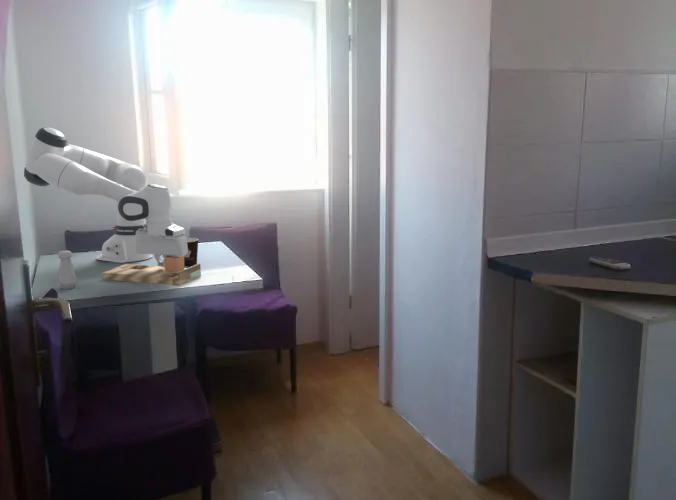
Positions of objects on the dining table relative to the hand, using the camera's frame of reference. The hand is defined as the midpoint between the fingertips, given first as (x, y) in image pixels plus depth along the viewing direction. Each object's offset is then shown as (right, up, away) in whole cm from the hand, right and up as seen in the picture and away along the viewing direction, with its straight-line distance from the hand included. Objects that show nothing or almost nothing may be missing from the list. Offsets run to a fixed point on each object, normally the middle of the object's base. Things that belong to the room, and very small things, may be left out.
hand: (162, 266), depth 232 cm
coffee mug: (+4, 0, +18) cm, 18 cm away
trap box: (-3, -4, -1) cm, 5 cm away
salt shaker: (-29, -7, -14) cm, 32 cm away
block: (+5, -1, -1) cm, 5 cm away
